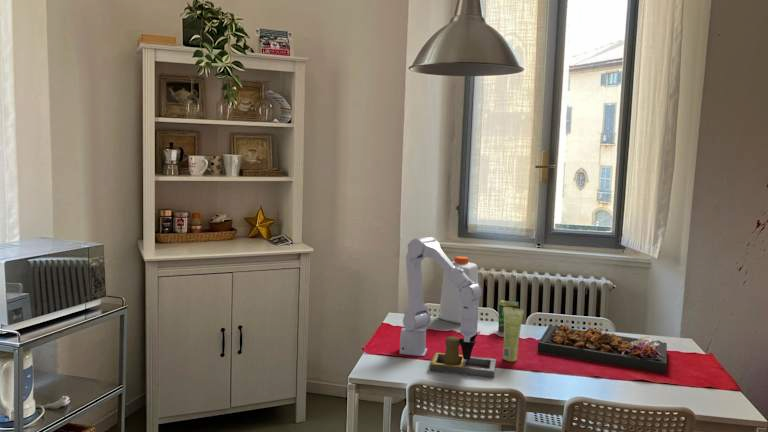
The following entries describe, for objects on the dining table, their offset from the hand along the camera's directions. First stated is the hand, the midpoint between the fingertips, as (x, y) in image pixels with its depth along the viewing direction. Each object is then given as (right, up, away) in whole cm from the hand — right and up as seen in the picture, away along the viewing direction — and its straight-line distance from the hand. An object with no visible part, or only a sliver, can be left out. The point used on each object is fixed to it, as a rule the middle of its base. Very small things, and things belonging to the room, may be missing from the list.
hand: (467, 355), depth 219 cm
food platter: (+55, -5, +22) cm, 60 cm away
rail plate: (-1, -5, +1) cm, 5 cm away
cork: (-6, -5, +2) cm, 8 cm away
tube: (+17, -4, +11) cm, 21 cm away
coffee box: (+23, 0, +43) cm, 49 cm away
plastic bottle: (+4, +3, +60) cm, 60 cm away
